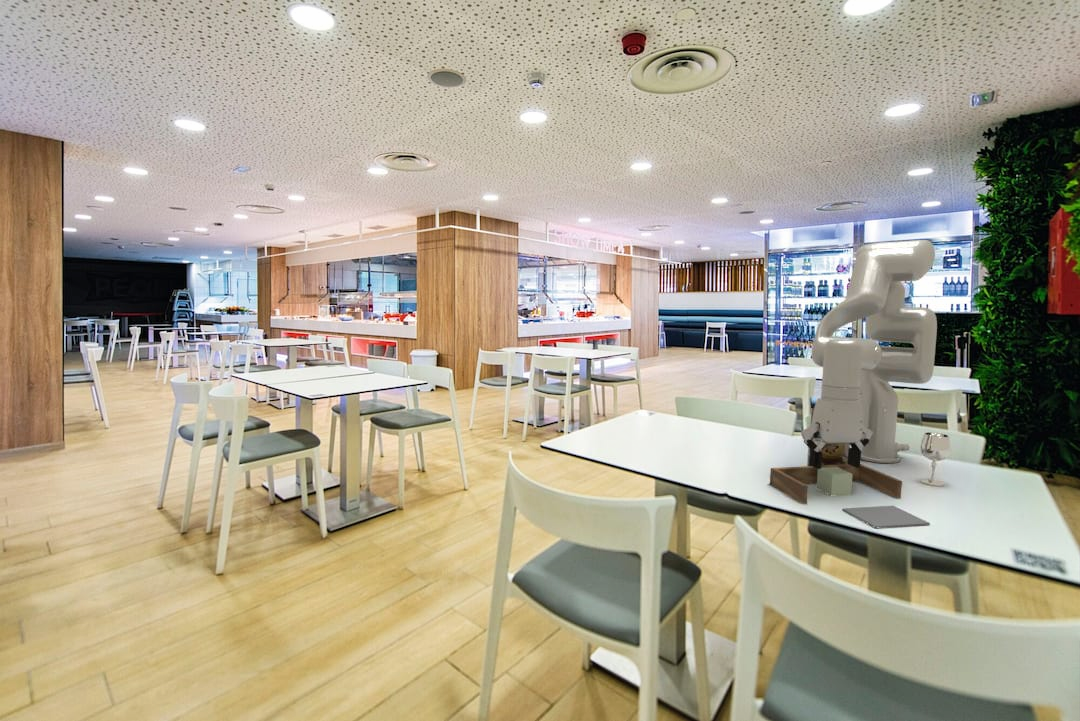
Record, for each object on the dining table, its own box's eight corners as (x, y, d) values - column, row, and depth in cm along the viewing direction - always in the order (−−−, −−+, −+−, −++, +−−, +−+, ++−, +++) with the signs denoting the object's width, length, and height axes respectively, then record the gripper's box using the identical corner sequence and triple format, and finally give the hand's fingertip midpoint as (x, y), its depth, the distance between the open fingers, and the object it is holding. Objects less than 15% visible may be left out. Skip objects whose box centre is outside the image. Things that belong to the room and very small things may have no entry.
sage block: (835, 487, 124) (837, 467, 123) (851, 495, 119) (852, 473, 118) (816, 488, 123) (817, 467, 122) (831, 496, 118) (832, 474, 118)
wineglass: (941, 480, 128) (945, 433, 127) (951, 488, 123) (955, 438, 122) (914, 477, 130) (918, 431, 129) (922, 485, 125) (926, 436, 124)
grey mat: (893, 507, 111) (893, 505, 111) (929, 525, 103) (929, 523, 102) (842, 510, 110) (842, 508, 110) (875, 528, 101) (875, 526, 101)
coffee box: (807, 473, 134) (811, 411, 132) (806, 466, 140) (810, 407, 138) (848, 478, 130) (852, 415, 128) (845, 470, 136) (850, 410, 134)
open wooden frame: (859, 479, 129) (860, 463, 129) (900, 498, 117) (902, 480, 116) (769, 483, 126) (770, 467, 125) (802, 503, 113) (803, 485, 113)
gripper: (861, 390, 123) (856, 461, 125) (794, 391, 121) (790, 462, 122) (887, 396, 116) (880, 470, 117) (816, 396, 113) (810, 472, 115)
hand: (834, 466), depth 120 cm, fingers open, 9 cm apart
